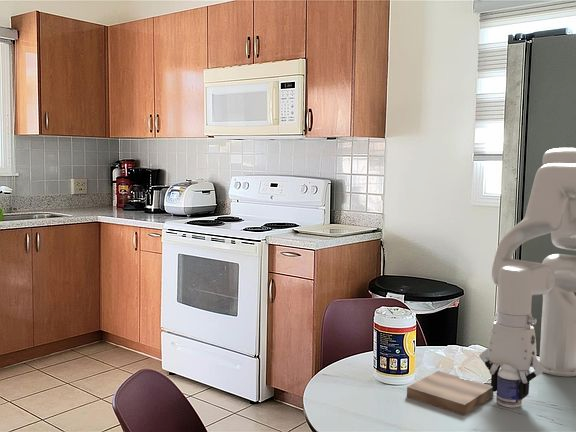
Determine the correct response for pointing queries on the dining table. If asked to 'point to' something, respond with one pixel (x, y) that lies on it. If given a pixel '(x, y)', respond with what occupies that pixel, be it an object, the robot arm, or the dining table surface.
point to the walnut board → (450, 392)
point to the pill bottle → (508, 387)
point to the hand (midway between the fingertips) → (509, 392)
